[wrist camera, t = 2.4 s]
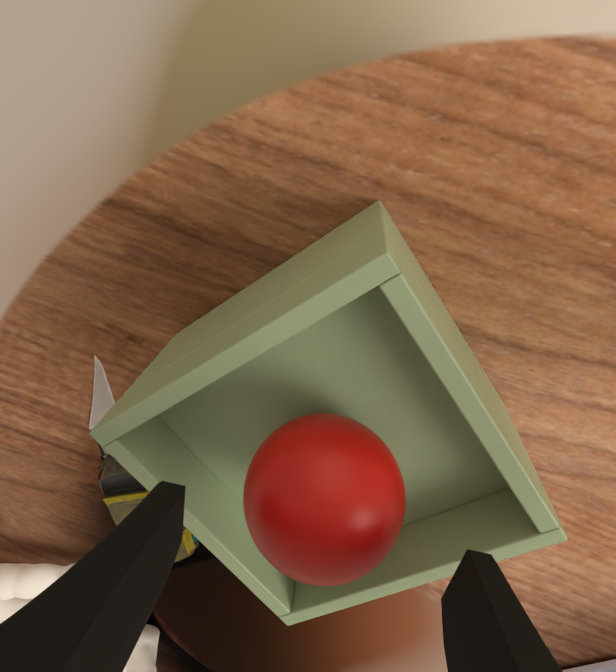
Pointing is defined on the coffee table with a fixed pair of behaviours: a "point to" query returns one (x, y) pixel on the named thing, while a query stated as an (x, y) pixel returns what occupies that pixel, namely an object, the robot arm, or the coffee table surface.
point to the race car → (131, 498)
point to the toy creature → (31, 579)
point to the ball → (324, 499)
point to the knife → (100, 397)
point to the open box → (342, 399)
